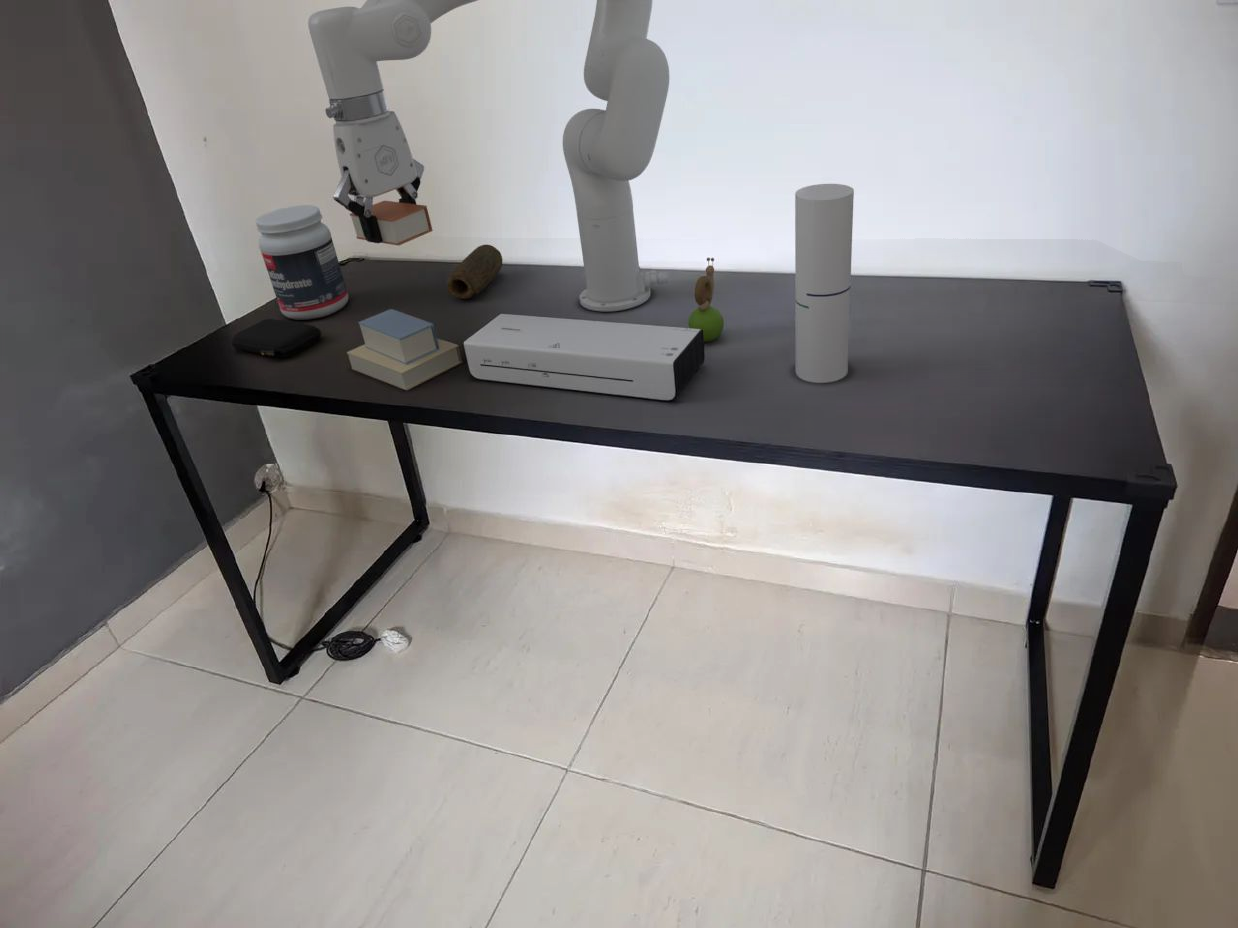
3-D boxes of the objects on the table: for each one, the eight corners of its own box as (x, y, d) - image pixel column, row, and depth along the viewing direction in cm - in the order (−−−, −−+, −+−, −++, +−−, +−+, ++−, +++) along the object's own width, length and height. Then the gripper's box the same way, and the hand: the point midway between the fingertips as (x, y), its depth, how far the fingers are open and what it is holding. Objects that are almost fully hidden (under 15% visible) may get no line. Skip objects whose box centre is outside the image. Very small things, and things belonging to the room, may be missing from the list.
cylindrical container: (837, 386, 118) (842, 201, 104) (787, 378, 121) (786, 198, 108) (854, 364, 122) (861, 185, 109) (806, 356, 126) (807, 182, 113)
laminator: (470, 379, 132) (461, 342, 129) (511, 345, 141) (504, 310, 138) (677, 403, 118) (674, 362, 115) (708, 364, 128) (705, 325, 124)
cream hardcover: (462, 362, 138) (458, 345, 136) (406, 390, 131) (402, 372, 130) (406, 343, 147) (402, 327, 145) (351, 369, 140) (346, 352, 139)
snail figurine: (731, 331, 136) (728, 257, 130) (717, 348, 132) (713, 273, 125) (698, 329, 139) (694, 256, 132) (684, 345, 134) (678, 271, 128)
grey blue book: (439, 350, 136) (433, 323, 133) (406, 365, 132) (399, 338, 130) (397, 333, 143) (391, 308, 141) (365, 347, 140) (358, 322, 137)
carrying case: (224, 354, 152) (282, 365, 145) (218, 338, 150) (276, 348, 143) (271, 330, 159) (328, 339, 153) (266, 314, 158) (323, 323, 151)
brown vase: (474, 275, 173) (467, 242, 170) (507, 273, 171) (501, 240, 168) (447, 304, 161) (439, 269, 157) (482, 303, 159) (475, 268, 156)
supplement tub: (270, 324, 162) (236, 227, 152) (302, 298, 173) (273, 206, 163) (332, 322, 160) (302, 223, 150) (362, 295, 170) (335, 201, 160)
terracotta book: (432, 231, 129) (426, 205, 127) (398, 245, 125) (391, 219, 123) (390, 224, 135) (384, 200, 133) (356, 238, 131) (349, 213, 129)
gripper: (324, 124, 113) (363, 256, 122) (424, 94, 124) (453, 217, 133) (292, 122, 117) (332, 250, 127) (391, 93, 128) (421, 213, 138)
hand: (394, 232), depth 130 cm, fingers closed on terracotta book, 6 cm apart
